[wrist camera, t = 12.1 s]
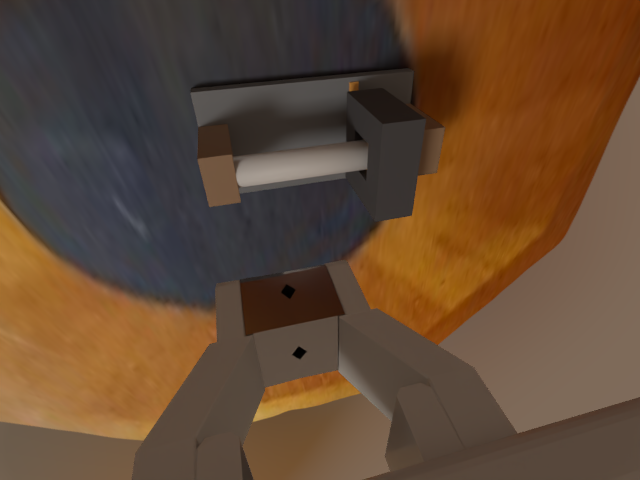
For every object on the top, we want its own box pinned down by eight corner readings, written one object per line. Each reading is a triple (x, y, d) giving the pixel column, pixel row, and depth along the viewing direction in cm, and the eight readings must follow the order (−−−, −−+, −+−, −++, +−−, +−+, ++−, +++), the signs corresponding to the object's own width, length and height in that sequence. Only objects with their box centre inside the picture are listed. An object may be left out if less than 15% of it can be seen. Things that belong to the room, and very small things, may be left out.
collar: (345, 176, 45) (374, 221, 37) (346, 91, 39) (382, 124, 31) (376, 172, 45) (411, 215, 38) (382, 87, 39) (426, 118, 32)
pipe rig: (214, 191, 45) (216, 236, 37) (190, 88, 38) (187, 120, 30) (397, 164, 49) (432, 201, 42) (408, 68, 42) (452, 91, 34)
